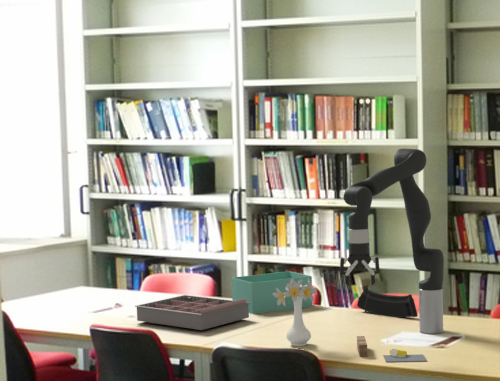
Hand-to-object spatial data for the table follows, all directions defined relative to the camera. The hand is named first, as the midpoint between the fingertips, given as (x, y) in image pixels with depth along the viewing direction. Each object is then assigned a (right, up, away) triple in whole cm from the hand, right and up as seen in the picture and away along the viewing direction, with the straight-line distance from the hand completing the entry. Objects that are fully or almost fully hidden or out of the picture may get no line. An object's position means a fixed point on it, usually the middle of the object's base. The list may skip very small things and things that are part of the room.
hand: (360, 285), depth 317 cm
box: (-29, -21, +95) cm, 101 cm away
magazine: (+20, -21, +66) cm, 72 cm away
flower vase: (-22, -24, +13) cm, 35 cm away
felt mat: (+14, -24, -12) cm, 31 cm away
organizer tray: (-65, -23, +65) cm, 95 cm away
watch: (+14, -23, -6) cm, 28 cm away
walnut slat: (+1, -24, -1) cm, 24 cm away
